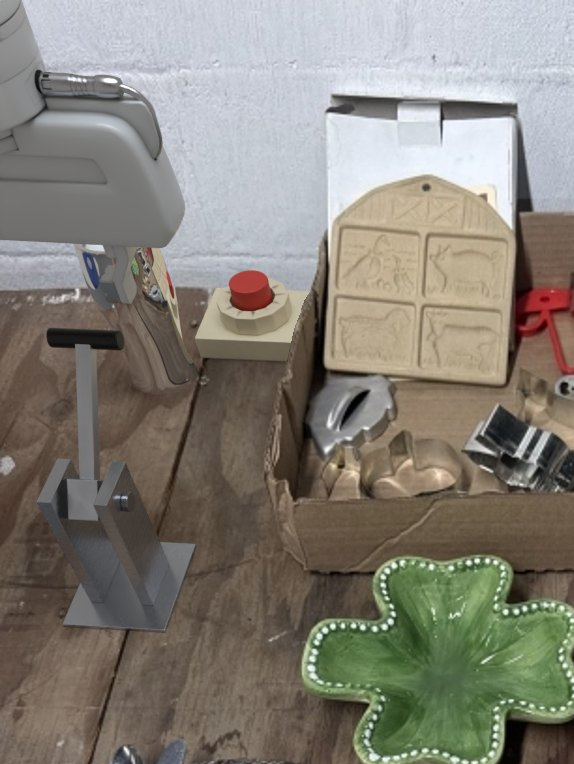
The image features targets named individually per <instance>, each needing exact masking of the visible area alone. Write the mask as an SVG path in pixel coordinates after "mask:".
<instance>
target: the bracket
mask: <svg viewBox="0 0 574 764" xmlns="http://www.w3.org/2000/svg"><path fill="white" fill-rule="evenodd" d="M67 479H79V480H80V478H79V473H78V471H77V469H76V467H75V465H74V463H73V461H72V459H71V458H57V459H56V461H55V463H54V465H53V466H52V469H51V471H50V473H49V475H48V476H47V479H46V481H45V483H44V485H43V487H42V490H41V492H40V494H39V495H38V498H37V500H36V504H37V505H38V507H39V509H40V511H41V513H42V515H43V517H44V518H45V521H46V522H47V524H48V526H49V528H50V530H51V532H52V533H53V535H54V536H55V539H56V540H57V542H58V544H59V546H60V548H61V550H62V551H63V553H64V555H65V557H66V559H67V561H68V563H69V564H70V566H71V568H72V570H73V572H74V574H75V576H76V577H77V580H78V581H79V585H78V587H77V589H76V592H75V593H74V597H72V598H73V599H72V601H71V603H70V605H69V608H68V610H67V611H66V615H65V617H64V619H63V621H62V626H63V627H64V628H76V629H77V628H78V629H94V630H113V631H129V632H131V631H132V632H145V633H149V632H150V633H167V630H168V628H169V625H170V622H171V619H172V616H173V615H174V611H175V608H176V605H177V603H178V600H179V597H180V594H181V593H182V590H183V586H184V583H185V580H186V578H187V575H188V572H189V570H190V567H191V564H192V560H193V558H194V555H195V552H196V550H197V544H196V543H189V542H172V541H171V542H168V541H160V539H159V537H158V534H157V532H156V530H155V527H154V524H153V523H152V520H151V518H150V515H149V513H148V511H147V508H146V506H145V504H144V501H143V499H142V497H141V495H140V492H139V490H138V487H137V485H136V484H135V481H134V478H133V476H132V474H131V472H130V469H129V467H128V464H127V462H126V461H114V460H112V461H111V463H110V464H109V467H108V468H107V471H106V473H105V476H104V477H103V480H102V481H103V483H102V485H101V487H100V489H99V492H98V494H97V496H96V498H95V501H94V503H93V506H94V508H95V510H96V512H97V514H98V516H99V518H100V521H91V520H71V519H68V495H67Z"/></svg>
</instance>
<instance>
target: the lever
mask: <svg viewBox="0 0 574 764" xmlns="http://www.w3.org/2000/svg"><path fill="white" fill-rule="evenodd" d="M45 336H46V342H47V344H48V346H49V347H50V348H53V349H54V348H55V349H74V350H75V351H74V352H75V353H74V354H75V356H74V357H75V382H76V383H75V385H76V413H77V442H78V443H77V445H78V472H79V473H78V475H79V478H80V480H79V479H67V495H68V519H71V520H91V521H100V518H99V516H98V514H97V512H96V510H95V508H94V506H93V503H94V501H95V498H96V496H97V494H98V492H99V489H100V487H101V485H102V483H103V481H104V480H101V456H100V427H99V426H100V424H99V423H100V422H99V391H98V389H99V388H98V357H97V355H98V353H97V352H98V351H97V350H99V351H100V350H101V351H123V348H124V337H123V334H122V332H121V331H119V330H110V329H95V328H75V327H74V328H73V327H71V328H69V327H49V328H47V330H46V334H45Z"/></svg>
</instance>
